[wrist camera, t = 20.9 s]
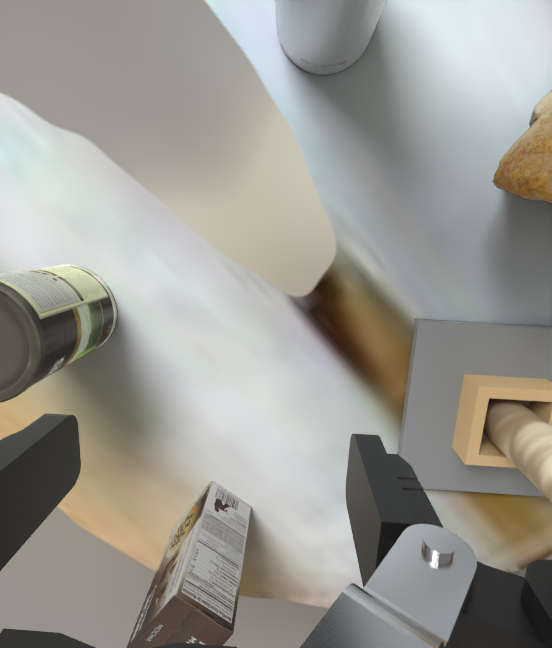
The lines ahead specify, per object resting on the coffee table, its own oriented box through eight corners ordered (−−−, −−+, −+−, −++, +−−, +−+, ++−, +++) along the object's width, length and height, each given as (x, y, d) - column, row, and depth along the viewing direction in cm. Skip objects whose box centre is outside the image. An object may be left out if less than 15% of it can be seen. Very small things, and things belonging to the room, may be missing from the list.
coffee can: (132, 336, 44) (62, 382, 31) (53, 364, 45) (-50, 420, 32) (94, 249, 42) (-1, 257, 29) (11, 281, 43) (-118, 302, 30)
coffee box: (213, 554, 51) (177, 699, 35) (171, 528, 50) (116, 663, 34) (254, 506, 49) (236, 636, 33) (211, 478, 48) (172, 596, 32)
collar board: (415, 318, 43) (430, 329, 38) (602, 329, 42) (640, 340, 37) (394, 480, 47) (405, 506, 42) (562, 491, 47) (592, 519, 42)
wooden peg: (478, 391, 43) (565, 464, 29) (524, 394, 43) (633, 469, 29) (470, 433, 44) (551, 522, 30) (515, 435, 44) (616, 526, 30)
